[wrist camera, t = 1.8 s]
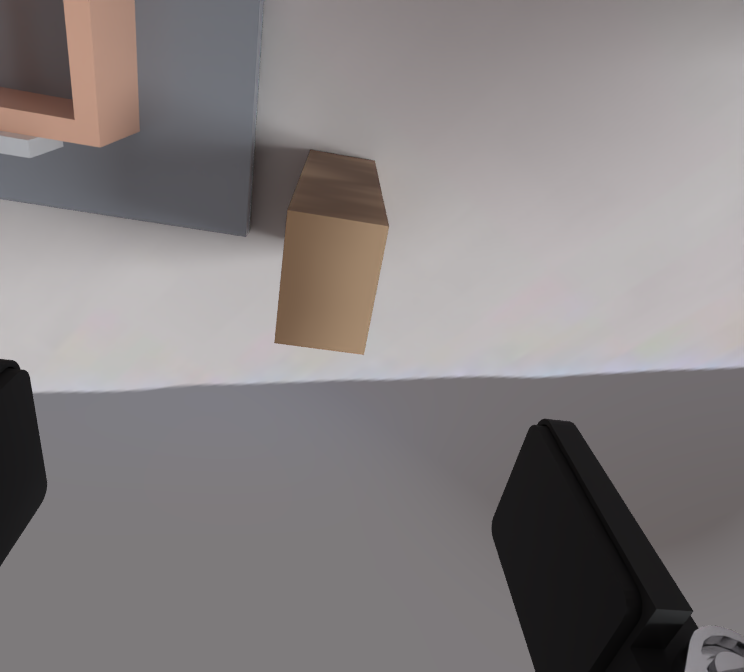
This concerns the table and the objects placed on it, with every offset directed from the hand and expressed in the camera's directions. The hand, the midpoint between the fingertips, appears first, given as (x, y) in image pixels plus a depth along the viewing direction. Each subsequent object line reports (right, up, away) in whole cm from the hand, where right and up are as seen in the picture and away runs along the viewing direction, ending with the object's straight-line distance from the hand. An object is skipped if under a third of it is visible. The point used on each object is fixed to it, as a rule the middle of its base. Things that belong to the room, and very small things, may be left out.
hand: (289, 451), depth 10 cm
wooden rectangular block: (0, +9, +15) cm, 17 cm away
